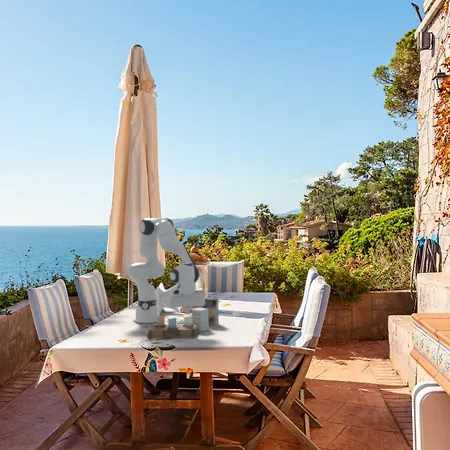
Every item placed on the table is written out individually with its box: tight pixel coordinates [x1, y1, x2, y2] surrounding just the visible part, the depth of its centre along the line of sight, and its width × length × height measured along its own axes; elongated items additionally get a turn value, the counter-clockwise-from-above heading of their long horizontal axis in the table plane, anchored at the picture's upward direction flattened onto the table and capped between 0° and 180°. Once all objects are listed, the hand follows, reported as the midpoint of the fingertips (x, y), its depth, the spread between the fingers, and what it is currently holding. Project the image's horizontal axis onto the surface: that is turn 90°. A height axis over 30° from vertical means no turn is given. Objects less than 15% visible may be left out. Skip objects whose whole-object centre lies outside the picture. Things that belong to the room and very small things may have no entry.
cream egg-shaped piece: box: [183, 315, 192, 327], centre depth 288 cm, size 5×5×6 cm
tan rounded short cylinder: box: [156, 315, 166, 327], centre depth 289 cm, size 5×5×6 cm
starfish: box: [155, 282, 180, 315], centre depth 364 cm, size 20×20×20 cm
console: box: [147, 324, 199, 339], centre depth 285 cm, size 15×26×4 cm, turn 87°
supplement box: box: [191, 307, 210, 333], centre depth 297 cm, size 7×7×13 cm
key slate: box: [167, 317, 178, 330], centre depth 281 cm, size 5×5×6 cm
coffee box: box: [201, 298, 220, 327], centre depth 312 cm, size 9×6×16 cm
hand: (188, 314), depth 288 cm, fingers closed
